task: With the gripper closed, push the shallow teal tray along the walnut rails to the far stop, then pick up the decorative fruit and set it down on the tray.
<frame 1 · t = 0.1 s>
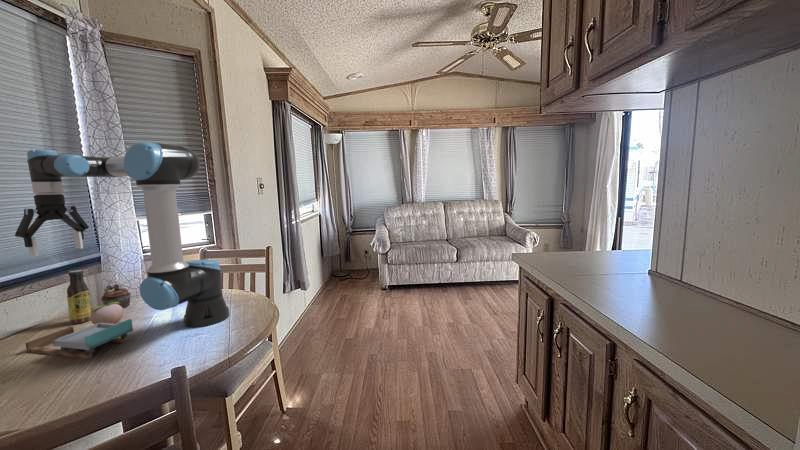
hand: (58, 252, 121), 28 cm above the table, fingers open, 13 cm apart
decorative fruit: (110, 328, 120), on the table
shallow teal tray: (94, 335, 105), point 4 cm above the table, slide at 0.0 cm
rails: (79, 346, 107), on the table
sauce bottle: (82, 321, 127), on the table
cupcake: (117, 308, 141), on the table
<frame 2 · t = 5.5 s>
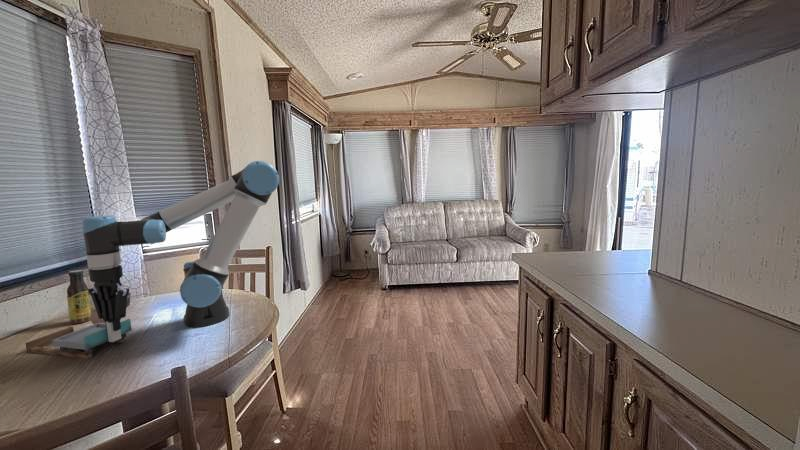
hand: (115, 339, 103), 4 cm above the table, fingers closed
shallow teal tray: (93, 335, 105), point 4 cm above the table, slide at 0.5 cm, touching gripper
everything else where it was.
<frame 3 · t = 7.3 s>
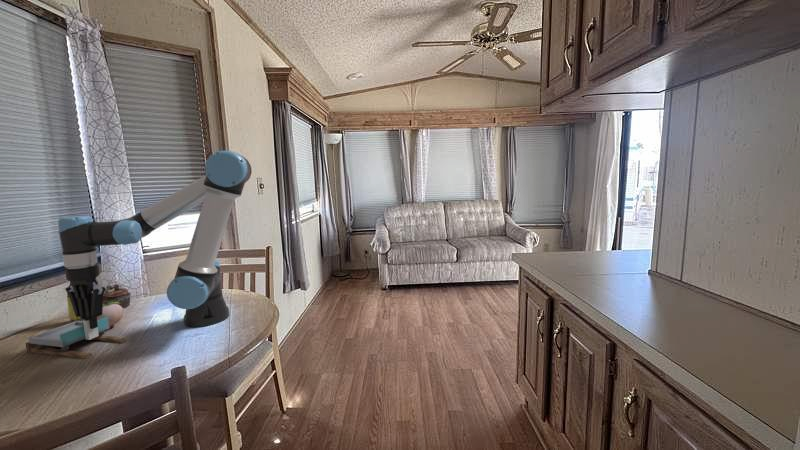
hand: (92, 337, 105), 3 cm above the table, fingers closed
shallow teal tray: (70, 332, 107), point 4 cm above the table, slide at 10.0 cm, touching gripper
everything else where it was.
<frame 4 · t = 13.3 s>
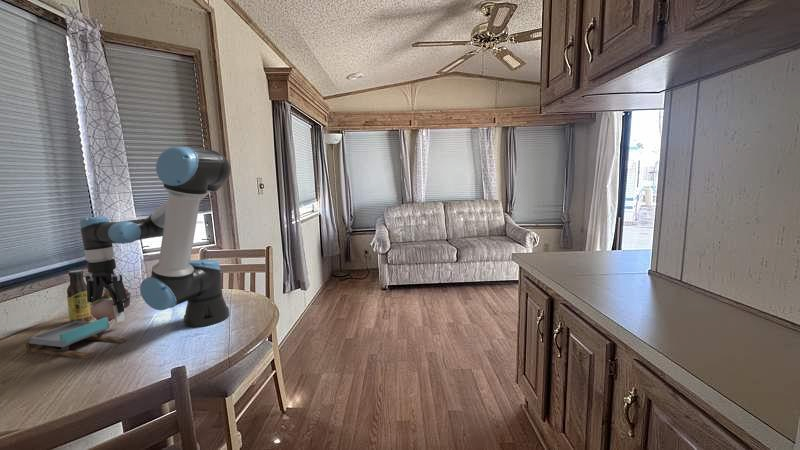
hand: (110, 320, 120), 3 cm above the table, fingers closed on decorative fruit, 8 cm apart
decorative fruit: (111, 321, 120), point 2 cm above the table, touching gripper
shallow teal tray: (70, 332, 107), point 4 cm above the table, slide at 10.0 cm
everything else where it was.
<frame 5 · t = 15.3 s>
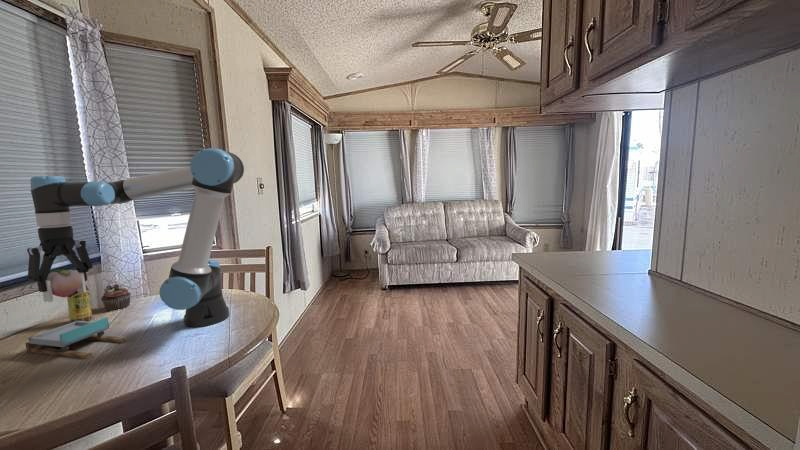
hand: (66, 296, 105), 17 cm above the table, fingers closed on decorative fruit, 8 cm apart
decorative fruit: (66, 297, 105), point 16 cm above the table, touching gripper
everything else where it was.
when the fingers open (6 cm above the table, at t = 17.5 s): decorative fruit drops 2 cm, resting on shallow teal tray.
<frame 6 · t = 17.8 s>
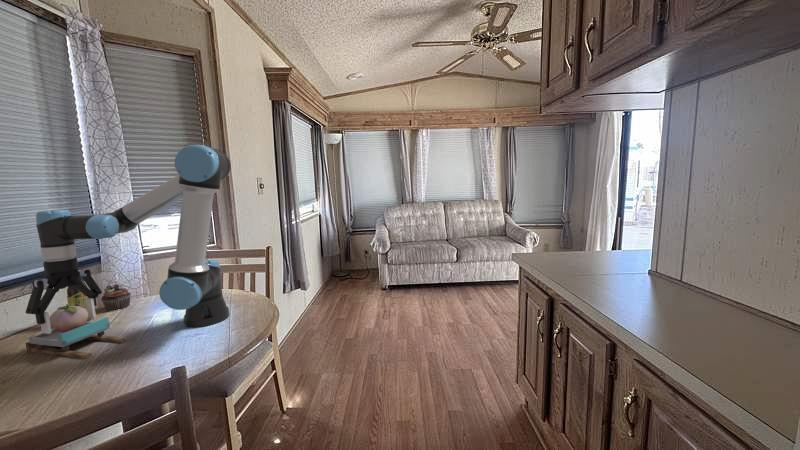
hand: (70, 324, 106), 7 cm above the table, fingers open, 11 cm apart
decorative fruit: (72, 333, 107), point 4 cm above the table, touching shallow teal tray
shallow teal tray: (71, 332, 107), point 4 cm above the table, slide at 9.9 cm, touching decorative fruit
everything else where it was.
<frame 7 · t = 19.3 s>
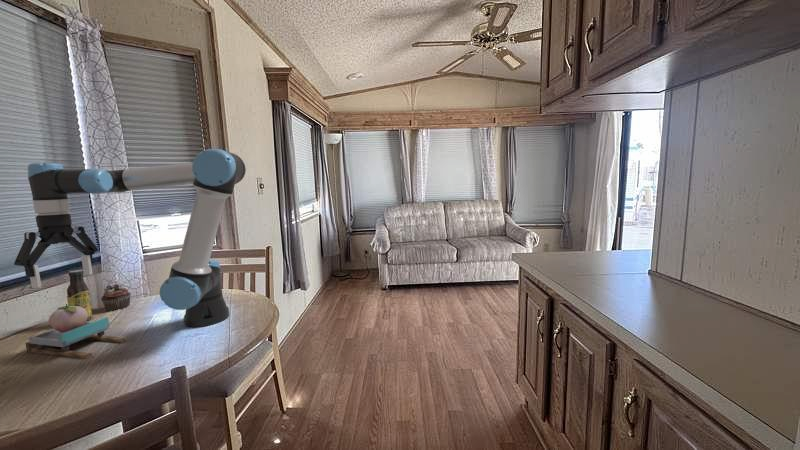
hand: (64, 280, 104), 22 cm above the table, fingers open, 13 cm apart
nothing on the table moved.
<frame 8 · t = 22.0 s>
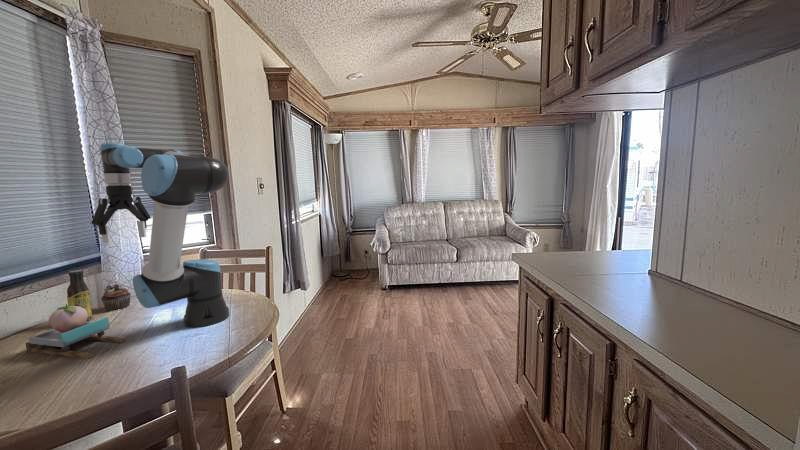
hand: (125, 240, 127), 31 cm above the table, fingers open, 13 cm apart
nothing on the table moved.
at the end: shallow teal tray slide at 9.8 cm; decorative fruit inside the target area (0.2 cm from its centre), point 4.0 cm above the table; decorative fruit touching shallow teal tray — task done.
